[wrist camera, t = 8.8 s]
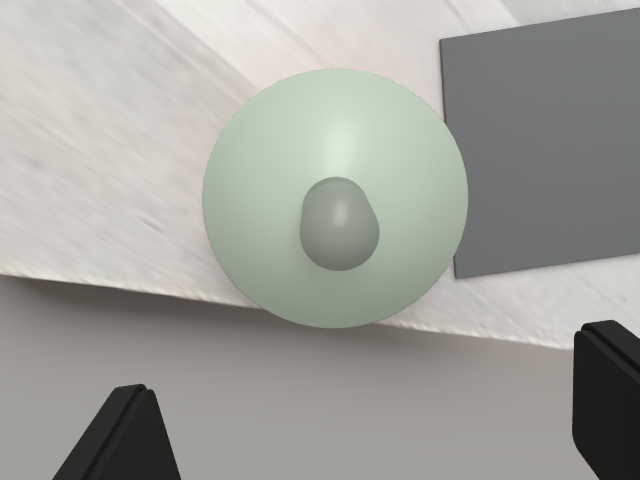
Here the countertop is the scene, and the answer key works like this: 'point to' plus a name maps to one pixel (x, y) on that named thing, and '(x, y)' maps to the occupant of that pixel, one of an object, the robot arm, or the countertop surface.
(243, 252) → the lid
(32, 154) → the countertop surface
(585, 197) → the mat
